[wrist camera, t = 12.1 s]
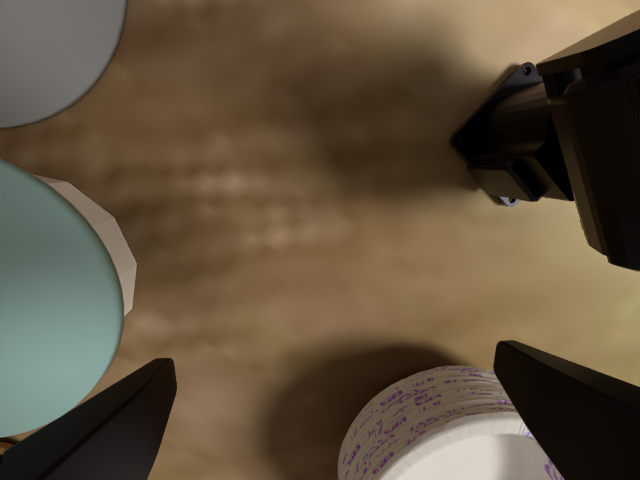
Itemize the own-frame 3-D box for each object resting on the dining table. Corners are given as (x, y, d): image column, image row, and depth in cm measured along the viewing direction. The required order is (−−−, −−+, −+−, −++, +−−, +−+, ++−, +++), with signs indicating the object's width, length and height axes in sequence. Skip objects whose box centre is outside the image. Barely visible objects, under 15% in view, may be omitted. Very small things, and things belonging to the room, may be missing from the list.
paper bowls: (548, 380, 26) (656, 472, 18) (449, 513, 29) (507, 643, 21) (391, 308, 23) (440, 382, 15) (298, 464, 26) (301, 593, 18)
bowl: (-3, 128, 18) (-97, 118, 14) (172, 261, 21) (141, 288, 16) (-112, 277, 19) (-229, 311, 15) (65, 384, 22) (10, 438, 18)
